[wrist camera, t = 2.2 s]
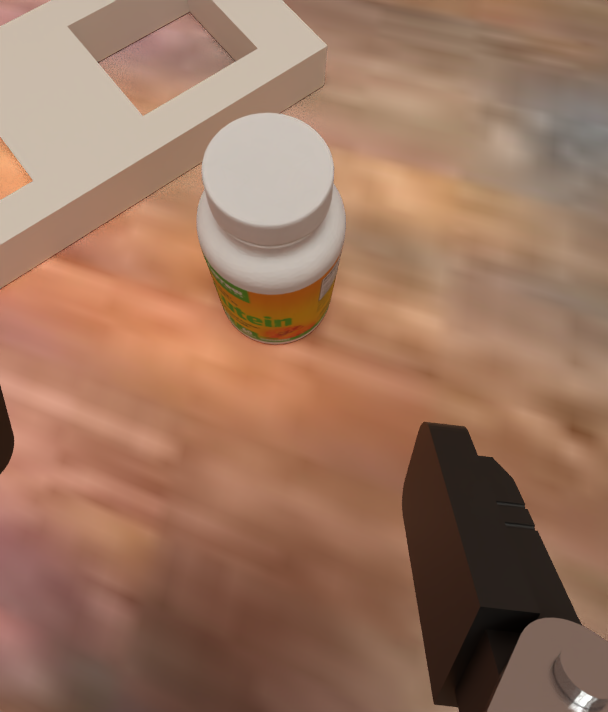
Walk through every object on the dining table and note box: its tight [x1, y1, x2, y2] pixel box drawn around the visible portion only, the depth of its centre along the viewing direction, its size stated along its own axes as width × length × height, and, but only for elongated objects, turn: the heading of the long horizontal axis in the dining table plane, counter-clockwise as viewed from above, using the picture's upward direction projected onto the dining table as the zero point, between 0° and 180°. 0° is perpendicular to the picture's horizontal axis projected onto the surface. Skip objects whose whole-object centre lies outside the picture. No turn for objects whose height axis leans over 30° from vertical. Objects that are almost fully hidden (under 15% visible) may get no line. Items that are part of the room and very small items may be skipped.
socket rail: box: [0, 0, 327, 289], centre depth 24 cm, size 26×11×2 cm, turn 129°
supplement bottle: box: [197, 113, 346, 344], centre depth 19 cm, size 5×5×10 cm
